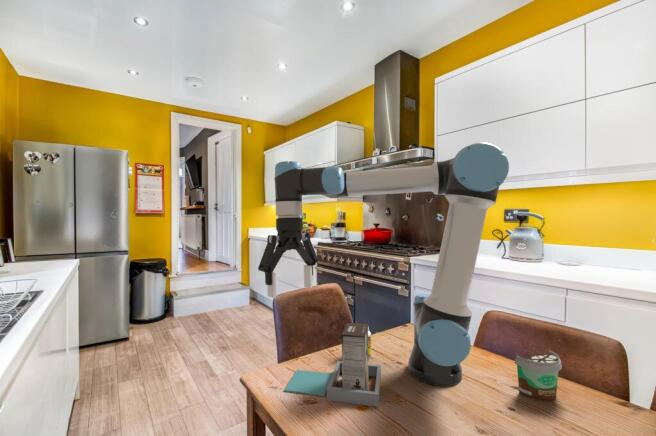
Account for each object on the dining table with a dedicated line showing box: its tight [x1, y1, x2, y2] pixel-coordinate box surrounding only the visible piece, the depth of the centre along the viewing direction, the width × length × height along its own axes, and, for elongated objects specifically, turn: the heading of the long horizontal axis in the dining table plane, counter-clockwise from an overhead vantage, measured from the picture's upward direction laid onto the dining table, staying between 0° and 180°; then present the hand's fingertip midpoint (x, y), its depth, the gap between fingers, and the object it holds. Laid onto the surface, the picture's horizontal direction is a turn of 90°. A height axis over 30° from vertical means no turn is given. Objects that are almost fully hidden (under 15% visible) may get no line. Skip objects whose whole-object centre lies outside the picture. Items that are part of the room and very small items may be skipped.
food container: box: [514, 349, 563, 402], centre depth 78 cm, size 12×6×10 cm, turn 105°
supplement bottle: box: [368, 325, 372, 360], centre depth 101 cm, size 6×6×10 cm
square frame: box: [326, 360, 382, 408], centre depth 83 cm, size 13×15×3 cm
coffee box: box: [341, 322, 369, 391], centre depth 83 cm, size 9×6×16 cm
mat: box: [283, 369, 333, 397], centre depth 85 cm, size 11×11×1 cm
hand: (291, 291), depth 86 cm, fingers open, 13 cm apart
